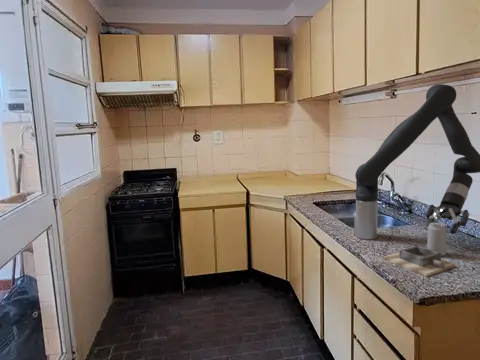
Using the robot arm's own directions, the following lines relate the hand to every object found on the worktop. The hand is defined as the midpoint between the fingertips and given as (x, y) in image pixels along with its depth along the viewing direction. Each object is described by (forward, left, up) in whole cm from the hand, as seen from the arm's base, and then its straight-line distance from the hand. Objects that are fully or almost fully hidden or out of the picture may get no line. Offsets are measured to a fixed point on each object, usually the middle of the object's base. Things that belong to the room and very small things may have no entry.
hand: (440, 230), depth 135 cm
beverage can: (0, -2, -9) cm, 9 cm away
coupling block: (+2, -15, -9) cm, 18 cm away
